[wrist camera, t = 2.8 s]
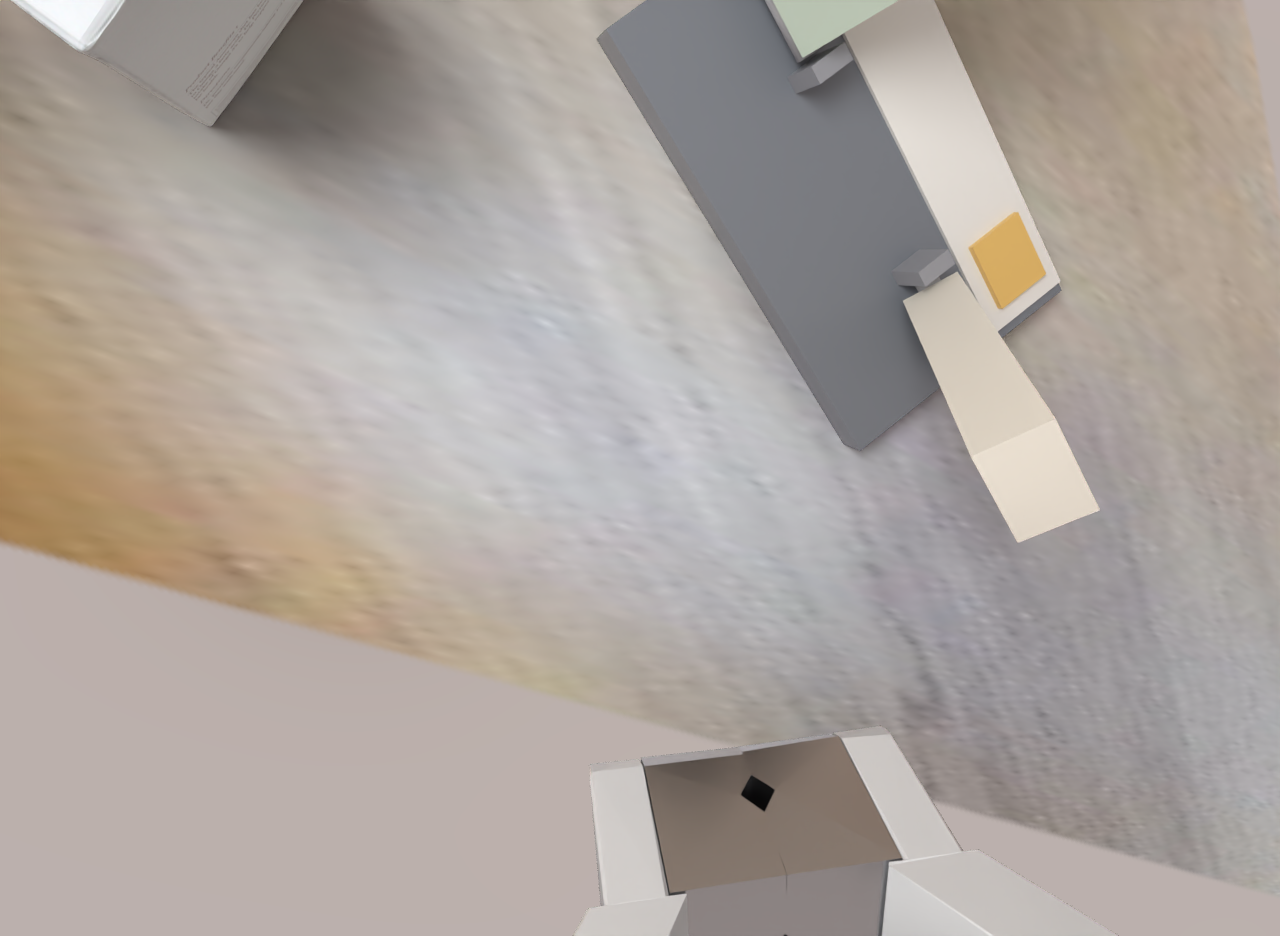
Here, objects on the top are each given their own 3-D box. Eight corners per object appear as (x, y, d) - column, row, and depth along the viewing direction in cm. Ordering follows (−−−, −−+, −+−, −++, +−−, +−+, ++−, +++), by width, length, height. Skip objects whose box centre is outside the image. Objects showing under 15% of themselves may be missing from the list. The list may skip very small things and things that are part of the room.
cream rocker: (934, 358, 38) (1019, 546, 25) (897, 290, 37) (968, 452, 24) (986, 332, 37) (1102, 513, 24) (951, 261, 36) (1053, 414, 23)
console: (843, 443, 39) (884, 461, 36) (596, 39, 32) (620, 14, 29) (1038, 288, 40) (1095, 292, 37) (840, -138, 33) (890, -181, 30)
